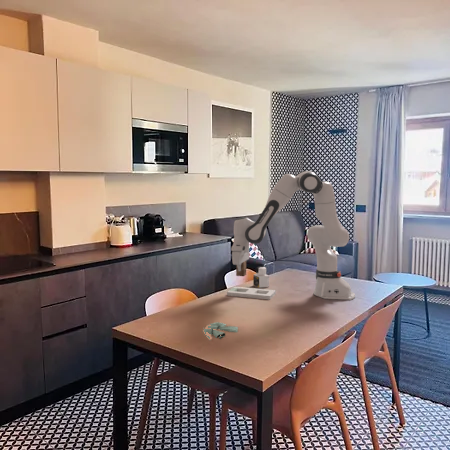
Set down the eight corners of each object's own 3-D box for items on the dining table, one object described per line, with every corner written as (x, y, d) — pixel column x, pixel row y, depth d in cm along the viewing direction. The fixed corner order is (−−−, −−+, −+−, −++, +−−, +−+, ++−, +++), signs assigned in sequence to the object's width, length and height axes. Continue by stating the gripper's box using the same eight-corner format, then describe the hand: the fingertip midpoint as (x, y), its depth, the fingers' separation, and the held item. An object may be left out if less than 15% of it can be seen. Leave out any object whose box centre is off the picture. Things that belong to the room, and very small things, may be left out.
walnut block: (246, 274, 241) (246, 261, 240) (243, 276, 237) (243, 262, 236) (238, 274, 242) (238, 260, 242) (236, 275, 238) (236, 261, 237)
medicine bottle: (253, 285, 259) (253, 266, 258) (263, 284, 262) (263, 265, 261) (258, 288, 253) (258, 268, 251) (269, 286, 256) (269, 267, 254)
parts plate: (275, 293, 240) (275, 290, 240) (270, 299, 228) (270, 296, 228) (234, 289, 249) (234, 286, 249) (226, 295, 237) (226, 292, 237)
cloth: (216, 321, 195) (216, 316, 195) (255, 332, 181) (255, 326, 181) (185, 334, 179) (185, 329, 179) (225, 347, 166) (225, 341, 165)
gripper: (241, 243, 249) (241, 266, 250) (230, 248, 230) (230, 273, 231) (252, 243, 246) (251, 266, 248) (241, 248, 227) (241, 273, 229)
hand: (241, 269), depth 239 cm, fingers closed on walnut block, 4 cm apart
